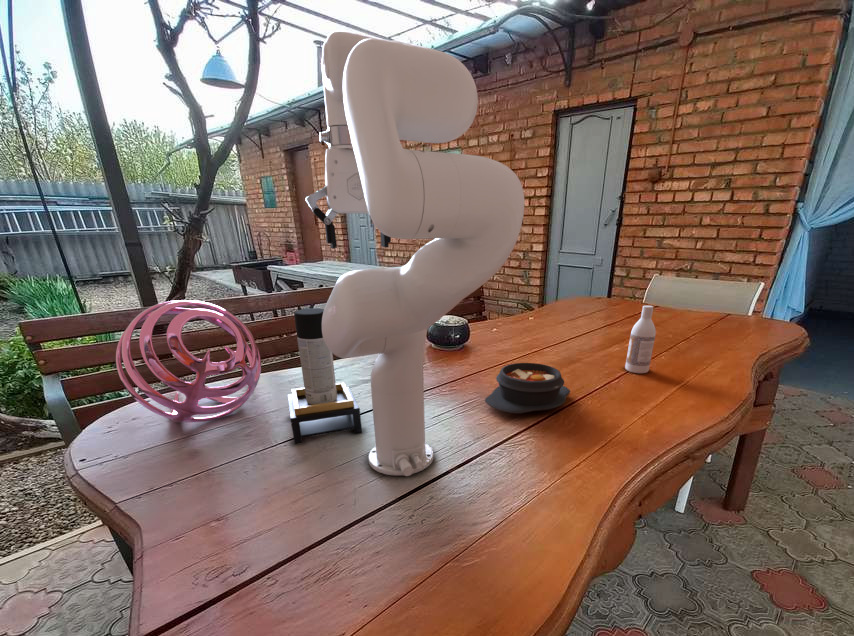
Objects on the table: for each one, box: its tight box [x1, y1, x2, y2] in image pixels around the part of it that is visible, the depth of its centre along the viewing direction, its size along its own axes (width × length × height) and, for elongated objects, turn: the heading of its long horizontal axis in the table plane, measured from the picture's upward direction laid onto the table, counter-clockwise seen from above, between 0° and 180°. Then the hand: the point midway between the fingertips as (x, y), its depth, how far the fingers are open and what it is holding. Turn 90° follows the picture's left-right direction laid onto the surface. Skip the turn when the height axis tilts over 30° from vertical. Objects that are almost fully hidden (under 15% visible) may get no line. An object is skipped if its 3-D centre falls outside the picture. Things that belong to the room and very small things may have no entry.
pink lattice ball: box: [115, 299, 262, 423], centre depth 98 cm, size 28×28×27 cm
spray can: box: [293, 307, 337, 405], centre depth 90 cm, size 7×7×20 cm
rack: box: [286, 382, 363, 445], centre depth 95 cm, size 14×14×8 cm
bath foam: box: [624, 304, 657, 374], centre depth 129 cm, size 7×7×20 cm
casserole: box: [484, 362, 571, 415], centre depth 108 cm, size 25×19×8 cm
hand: (359, 247), depth 80 cm, fingers open, 9 cm apart
